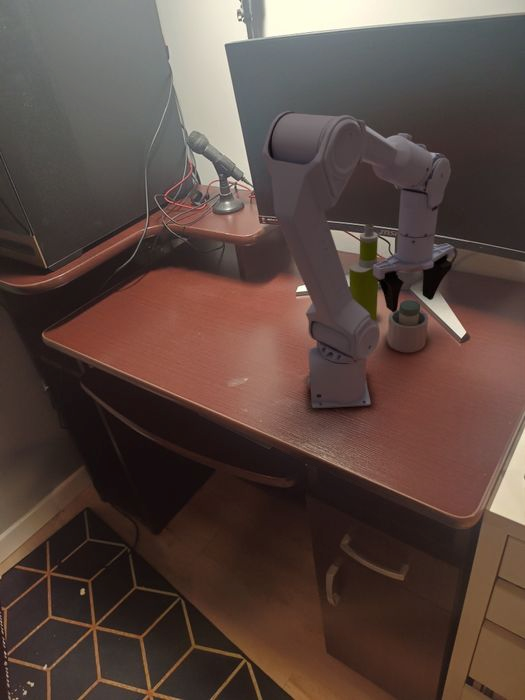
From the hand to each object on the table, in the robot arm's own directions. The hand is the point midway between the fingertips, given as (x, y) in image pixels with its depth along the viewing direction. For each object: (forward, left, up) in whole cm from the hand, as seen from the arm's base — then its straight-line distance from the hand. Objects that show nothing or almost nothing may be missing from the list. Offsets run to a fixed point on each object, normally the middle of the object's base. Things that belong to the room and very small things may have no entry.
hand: (409, 303), depth 82 cm
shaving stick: (0, 0, -8) cm, 8 cm away
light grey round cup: (0, 0, -8) cm, 8 cm away
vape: (-7, +8, -9) cm, 14 cm away
